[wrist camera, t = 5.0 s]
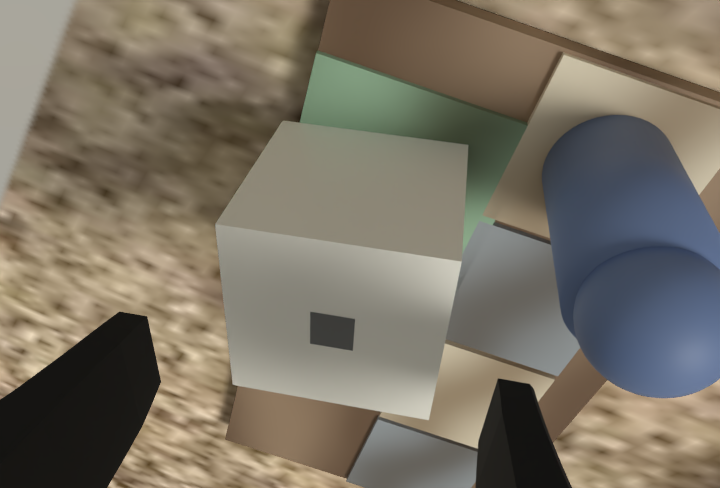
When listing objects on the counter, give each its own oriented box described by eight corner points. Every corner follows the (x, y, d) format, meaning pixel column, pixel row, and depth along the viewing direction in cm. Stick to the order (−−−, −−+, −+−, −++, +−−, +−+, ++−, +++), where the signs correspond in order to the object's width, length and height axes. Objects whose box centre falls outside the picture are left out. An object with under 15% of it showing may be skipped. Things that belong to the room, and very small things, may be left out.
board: (804, 122, 15) (822, 140, 14) (483, 505, 27) (483, 526, 26) (344, -39, 14) (335, -30, 13) (231, 424, 26) (223, 443, 26)
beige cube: (468, 144, 15) (461, 262, 11) (441, 288, 18) (428, 420, 14) (282, 120, 16) (214, 224, 12) (285, 263, 19) (232, 385, 15)
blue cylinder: (703, 139, 14) (835, 346, 9) (630, 239, 16) (702, 458, 11) (579, 96, 14) (636, 278, 9) (521, 201, 16) (538, 404, 11)
